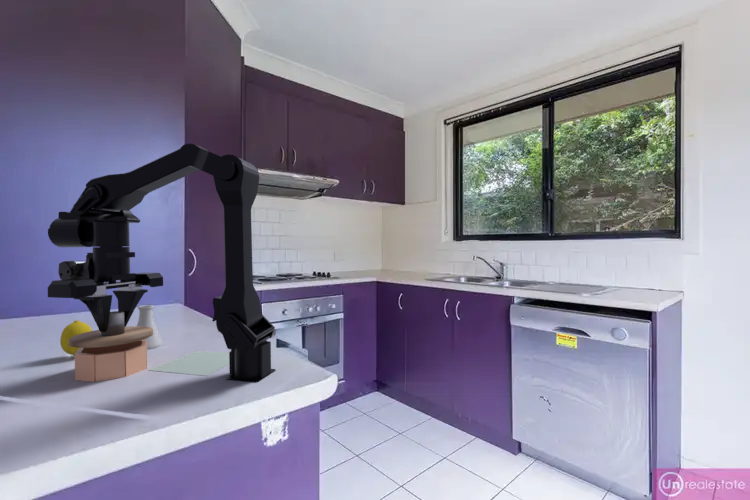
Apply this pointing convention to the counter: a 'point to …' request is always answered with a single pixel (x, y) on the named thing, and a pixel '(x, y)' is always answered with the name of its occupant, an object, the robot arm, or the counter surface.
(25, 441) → the counter surface
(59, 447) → the counter surface
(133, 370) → the bowl
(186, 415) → the counter surface
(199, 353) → the mat
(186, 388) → the counter surface
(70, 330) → the lemon
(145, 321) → the flask
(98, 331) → the lid
